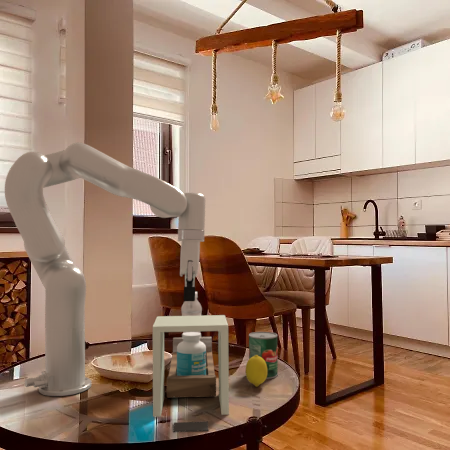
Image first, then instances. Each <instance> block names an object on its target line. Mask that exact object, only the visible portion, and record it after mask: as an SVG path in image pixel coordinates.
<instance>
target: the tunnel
mask: <svg viewBox="0 0 450 450" xmlns="http://www.w3.org/2000/svg"><path fill="white" fill-rule="evenodd" d="M190 331H201V332H218V333H217V334H218V336H217V337H218V339H217V340H218V341H217V342H218V345H217V347H218V349H217V353H218V355H217V357H218V398H219V406H220V407H219V408H220V413H221V416H224V415H228V416H229V415H230V401H229V400H230V395H229V394H230V392H229V391H230V388H229V385H230V381H229V380H230V378H229V377H230V376H229V375H230V373H229V369H230V368H229V367H230V365H229V362H230V361H229V324H228V321H227V317H226V315H225V314H219V315H218V314H217V315H216V314H215V315H213V314H212V315H208V314H206V315H201V316H182V315H167V316H166V315H164V316H161V315H159V316H156V318H155V321H154V323H153V325H152V417H154V418H158V417H159V418H160V417H162V412H163V407H164V400H165V333H182V332H190Z"/></svg>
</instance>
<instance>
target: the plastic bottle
mask: <svg viewBox="0 0 450 450" xmlns="http://www.w3.org/2000/svg"><path fill="white" fill-rule="evenodd" d="M198 298H199V296H198V291H196V290H195V301H183V304H182V305H181V308H180V310H181V316H202V311H203V307H202V305H201V303H200V302H199V300H198ZM190 332H198V333H200V334H201V335H202V333H201V332H202V331H190ZM183 333H186V332H183ZM183 333H182V334H183Z"/></svg>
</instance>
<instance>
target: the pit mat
mask: <svg viewBox="0 0 450 450" xmlns="http://www.w3.org/2000/svg"><path fill="white" fill-rule="evenodd" d="M190 432H193V433H194V432H195V433H196V432H209V421H208V420H207V421H205V420H204V421H180V422H179V421H177V422H173V427H172V433H190Z"/></svg>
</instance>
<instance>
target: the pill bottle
mask: <svg viewBox="0 0 450 450" xmlns="http://www.w3.org/2000/svg"><path fill="white" fill-rule="evenodd" d="M181 337H182V339H183V342H181V343H179V344H178V346H177V376H191V375H206V367H207V361H206V346H205V344H204V343H203V342H201V341H200V338H201V337H202V333H201V334H200V333H198V332H186V333H182V334H181Z"/></svg>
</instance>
